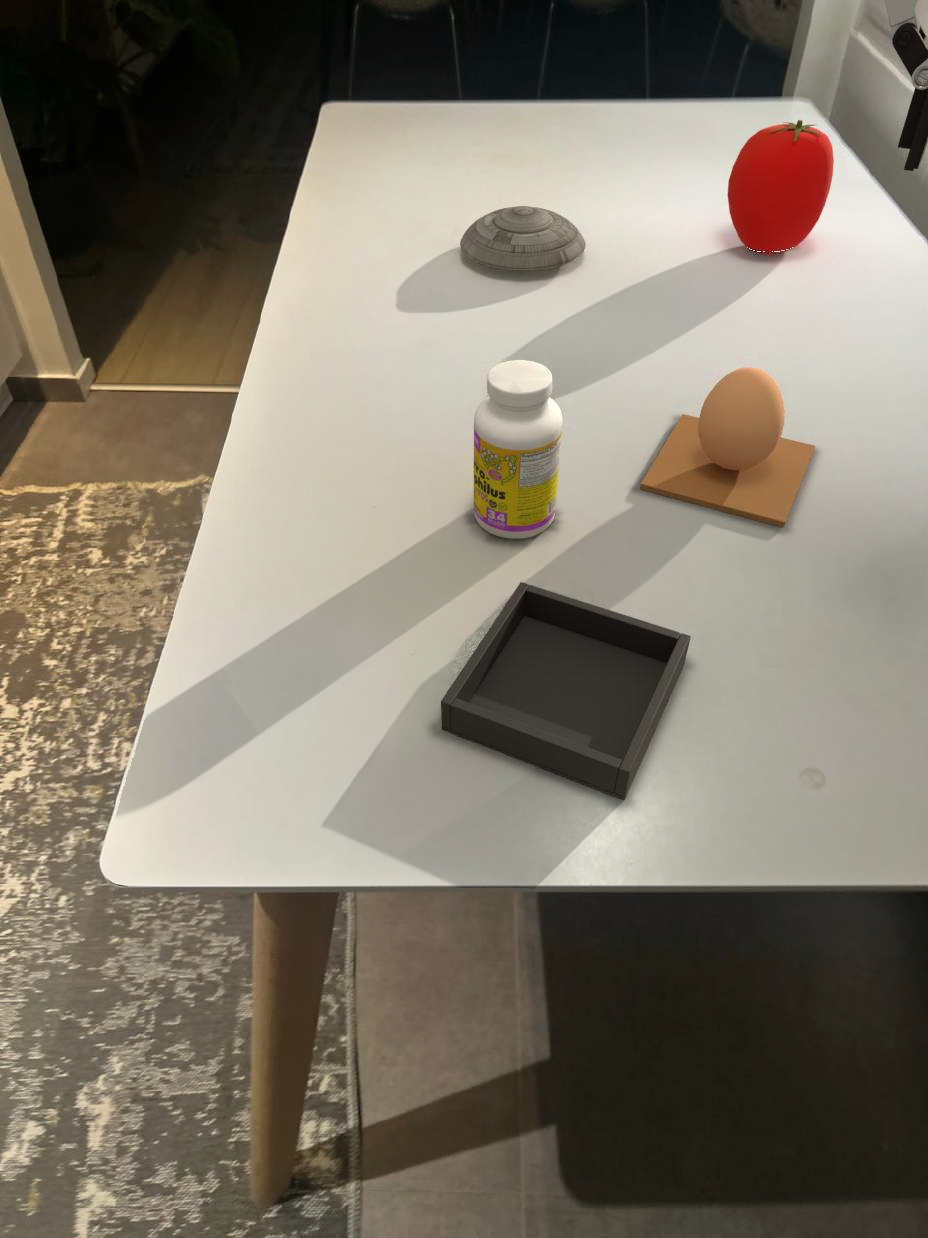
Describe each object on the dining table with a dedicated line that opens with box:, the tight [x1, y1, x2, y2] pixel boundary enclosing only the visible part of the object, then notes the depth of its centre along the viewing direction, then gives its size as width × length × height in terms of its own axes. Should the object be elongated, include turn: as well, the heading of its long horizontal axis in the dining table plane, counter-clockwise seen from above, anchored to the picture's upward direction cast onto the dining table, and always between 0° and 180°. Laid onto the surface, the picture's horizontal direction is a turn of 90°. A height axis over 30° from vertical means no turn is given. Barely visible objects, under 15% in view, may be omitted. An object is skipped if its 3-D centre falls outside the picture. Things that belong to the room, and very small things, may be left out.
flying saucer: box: [459, 205, 586, 273], centre depth 109 cm, size 15×15×6 cm
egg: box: [698, 366, 786, 471], centre depth 76 cm, size 7×7×9 cm
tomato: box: [727, 119, 835, 256], centre depth 108 cm, size 13×11×14 cm
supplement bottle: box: [473, 359, 564, 540], centre depth 70 cm, size 7×7×13 cm
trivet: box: [640, 413, 816, 528], centre depth 79 cm, size 12×12×1 cm
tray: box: [440, 581, 692, 801], centre depth 60 cm, size 12×12×3 cm
